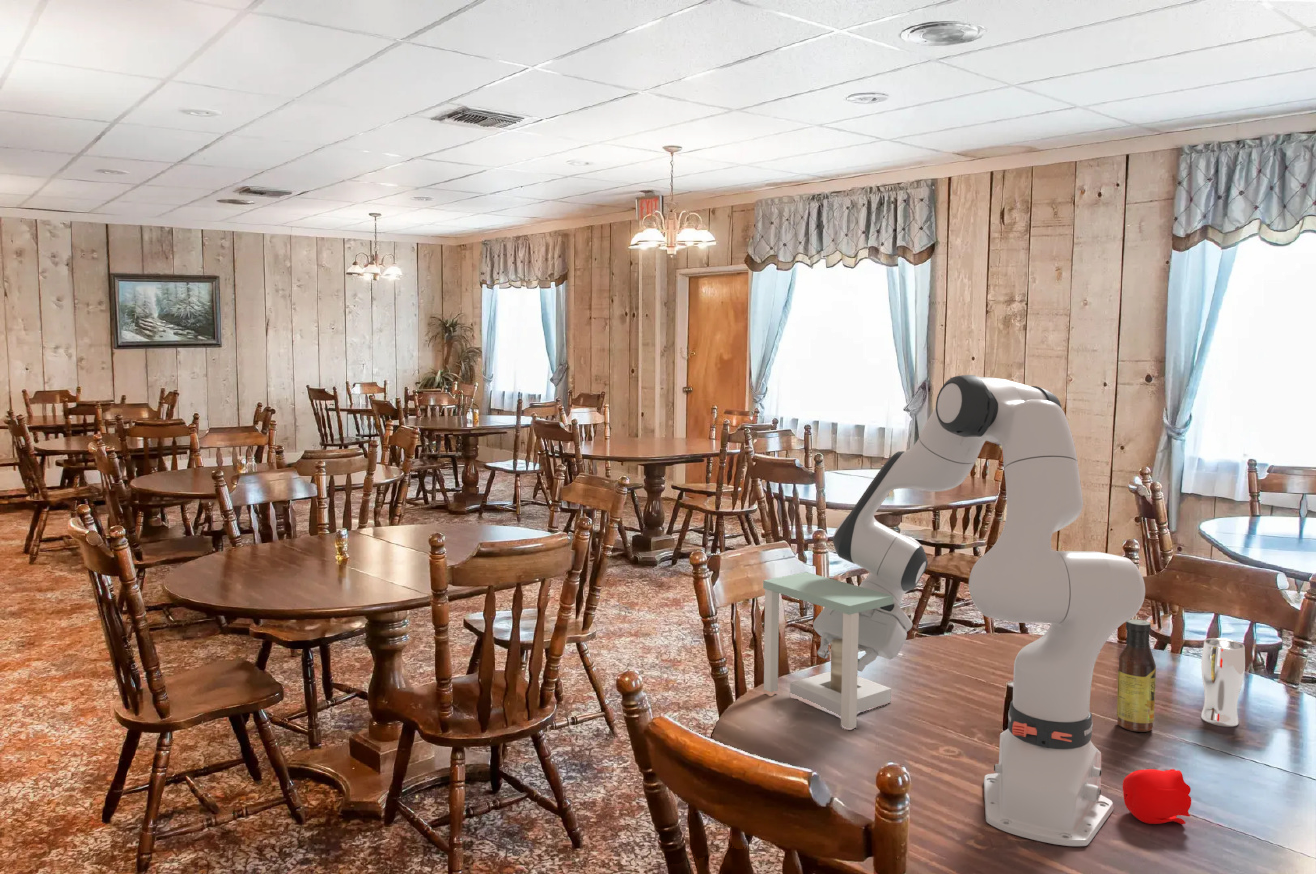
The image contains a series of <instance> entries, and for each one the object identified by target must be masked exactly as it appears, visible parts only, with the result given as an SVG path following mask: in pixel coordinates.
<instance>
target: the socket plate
mask: <svg viewBox="0 0 1316 874" xmlns="http://www.w3.org/2000/svg"><path fill="white" fill-rule="evenodd" d="M830 688H831V670H830V671H826V672H822V673H819V674H816V675H813V676H809V677H806V678H802V679H798V680H795V681H791V682H790V684H789V694H790V693H792V694H795V695H797V696H799V697H802V698H803V699H807V700H809V701H811V702H813V703H816V704H818V705H820V706H821V707H824V708H826V709H827V710H829V711H832V712H834V713H836V714H838V715H839V716H841V693H839V692H836V691H834V690H831V689H830ZM890 701H891V702H892V688H891V687H889V686H885V685H884V684H880V683H878V682H875V681H872V680H870V679H867V678H866V677H861V676H858V675H857V712H858V711H864V710H867V709H869V708H872V707H876V706H878V705H881V704H883V703H887V702H890Z"/></svg>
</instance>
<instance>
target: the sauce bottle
mask: <svg viewBox="0 0 1316 874" xmlns="http://www.w3.org/2000/svg"><path fill="white" fill-rule="evenodd" d="M1125 629H1126V640H1125V644H1126V645H1125V647H1124V648H1123V649H1122V651H1120V654H1119V657H1118V669H1117V690H1116V691H1117V692H1116V694H1117V695H1116V717H1117V724H1118V726H1120V727H1121V728H1122V729H1125V730H1128V731H1131V732H1137V733H1138V732H1140V733H1146V732H1150V731H1151V730H1152V729H1153V728H1154V723H1153V722H1154V721H1155V709H1156V708H1155V705H1156V700H1155V699H1156V684H1157V683H1156V682H1157V681H1156V679H1157V678H1156V676H1157V675H1156V673H1157V665H1156V662H1155V658H1154V656H1153V651H1152V649H1151V646H1150V632H1151V622H1150V621H1147V620H1143V619H1134V618H1133V619H1132V618H1131V619H1129V620H1128V621H1126V622H1125Z"/></svg>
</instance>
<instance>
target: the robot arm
mask: <svg viewBox="0 0 1316 874" xmlns="http://www.w3.org/2000/svg"><path fill="white" fill-rule="evenodd" d="M935 401H936V402H935V408H934V409H933V410H932V412H931V414H930V416H929V417H928V419H927V420H926V423H925V424H924V426H923V429H922V430H921V432H920V435H919V437H918V439H917V441H916V442H914V444H913V445H912V446H911V447H910V448H909V449H907V450H906V451H905V450H904V451H896V452H895V453H894V454H893V455H891V456H890V457H889V458H888V460H887V461H886V462H885V463H884V464H883V466H882V467H881V468H880V470H879V471H878V473H876V475H875V476H874V478H873V479H872V480H871V482H870V484H869V485H868V487H866V490H865V491H864V492H863V494H862V495H861V497H860V498H859V500H858V501H857V502H856V503H855V505H854V507H853V508H852V510H851V511H850V513H849V514H847V516H846V517H845V518H844V519H843V520H842V521H840V523H839V525H838V526H837V527H836V529H835V532H834V535H833V538H832V544H833V546H834V547H833V548H834V549H835V553H836V554H837V555H838V557H839V559H843V560H845V561H847V562H850V563H851V564H853V565H857V566H859V567H860V568H863V569H864V570H866V571H868V572H869V574H868V575H867V576H866V578H864V579H863V580H862V581H861V583H860V584H859V587H863V588H867V589H870V590H874V591H878V592H881V593H885V594H889V595H892V596H893V604H891V605H887V606H883V607H879V608H875V609H871V610H867V611H863V612H859V628H858V650H860V651H863V652H865V654H864V655H863V656H861V657H859V658H858V671H859V672H860V673H861V672H862V673H863V671H864V670H865V668H866V666H868V665H869V664H871V663H872V662H874V661H875V660H876V659H877V658H878V657H882V658H884V659H887V660H893V659H894V658H896V657H897V656H898V655H899V653H900V652H901V650H902V648H903V646H904V644H905V642H906V640H907V637H908V634H907V633H908V632H909V631H910V630H911V629H912V627H913V625H914V624H913V622H912V620H911V619H910V617H909V616H908V615H907V614H906V612H905V611H904V610H903V609H902V608H901V604H902V599H903V597H904V595H906V594H907V593H908V592H909V591H912V590H913V589H915V588H916V586H917V584H918V583H919V581H920V580H921V578H922V576H923V575H924V574H925V572H926V570H927V568H928V562H929V561H928V558H927V554H926V551H925V549H924V547H923V545H922V544H921V543H920V542H919V541H918V540H916V539H915V538H913V537H911V536H910V535H907V534H906V535H904V534H902V533H899V532H897V531H896V530H894V529H892V528H891V527H889V526H886V525H885V524H882V523H881V522H879V521H878V520H877V519H876V518H875V514H876V513H877V511H878V509H879V508H880V507H881V505H882V504H883V503H884V502H885V500H886V498H887V497H888V496H889V494H890V493H891V492H892V491H894V490H898V489H900V490H901V489H906V490H907V489H908V490H909V489H910V490H917V491H923V492H945V491H950V490H953V489H955V488H957V487H958V486H960V485H961V484H963V483H964V482H965V481H966V479H967V477H968V476H969V474H970V473H971V471H972V469H973V467H974V466H975V463H976V462H977V459H978V457H979V455H980V453H981V451H982V448H983V446H984V444H985V443H986V442H989V443H992V444H997V445H998V444H999V445H1000V446H1001V448H1002V461H1003V470H1004V471H1003V472H1004V480H1005V494H1006V496H1005V497H1006V516H1005V521H1004V522H1005V523H1004V525H1003V528H1002V532H1001V533H1000V536H999V537H998V539H997V540H996V542H995V543H994V545H992V546H991V548H990V549H989V550H988V551H986V553H985V554H983V555H982V556H980V557H979V558H978V559H977V561H976V562H974V565H973V566H972V569H971V571H970V574H969V578H968V591H969V594H970V595H969V596H970V598H971V600H972V602H973V604H974V605H975V607H976V609H977V610H978V611H979V612H980V614H982V615H983V616H984V617H986V618H989V619H990V618H992V619H996V620H999V621H1005V622H1010V623H1014V624H1015V623H1019V624H1020V623H1021V624H1022V623H1023V624H1027V623H1029V624H1037V623H1039V624H1042V623H1043V624H1050V625H1049V626H1048V629H1047V631H1046V632H1045V633H1044V634H1043V635H1042V636H1040V637H1039V638H1038V639H1036V640H1034V641H1033V642H1032V641H1031V642H1030V643H1028V644H1026V645H1025V646H1023V647H1022V648H1021V649H1020V650H1019V652H1018V653H1017V655H1016V657H1015V660H1014V662H1013V683H1012V684H1013V686H1012V700H1010V703H1009V708H1008V709H1009V710H1008V713H1007V714H1008V715H1007V716H1008V717H1007V718H1008V724H1007V729H1005V730H1004V731H1002V732H1001V733H1000V734H999V748H998V749H999V750H998V751H999V753H998V763H995V764H994V765H993V771H994V773H987V774H985V775H984V777H983V778H984V779H983V794H984V809H985V810H984V811H985V812H984V813H985V814H984V815H985V821H986V823H987V824H989V825H991V827H994V828H996V829H998V830H1000V831H1002V832H1006V833H1008V834H1012V835H1015V836H1017V837H1021V838H1026V839H1030V840H1034V841H1037V842H1042V843H1048V844H1053V845H1060V846H1067V847H1086V846H1088V845H1089V844H1090V843H1091V842H1092V840H1093V839H1094V837H1095V836H1096V834H1098V832H1099V831H1100V829H1101V827H1102V826H1103V825H1104V823H1105V822H1106V820H1108V818H1109V816H1110V815H1111V814H1112V813H1113V811H1114V802H1113V801H1112V800H1111V799H1110V798H1107V796H1105V795H1103V794H1102V791H1101V789H1102V788H1101V787H1102V786H1101V785H1102V784H1101V783H1102V753H1101V751H1100V750H1099V749H1098V748H1097V747H1096V746H1095V745H1094V743H1093V742H1092V741H1091V739H1092V736H1093V735H1092V734H1093V733H1092V732H1093V728H1094V726H1093V724H1094V723H1093V714H1092V712H1091V711H1090V705H1091V704H1090V703H1091V691H1092V681H1093V675H1094V669H1095V665H1096V662H1097V659H1098V657H1099V655H1100V652H1101V651H1102V649H1103V647H1104V645H1105V644H1106V643H1107V641H1108V640H1109V638H1110V637H1111V636H1112V634H1114V633H1115V631H1116V630H1117V629H1119V627H1121V626H1122V625H1123V624H1124V623H1125V624H1126V621H1128V620H1131V619H1132V618H1134V617H1135V616H1136V615H1137V614H1138V613H1139V611H1140V610H1141V608H1142V606H1143V604H1144V600H1145V598H1146V585H1145V581H1144V577H1143V575H1142V572H1141V571H1140V569H1139V568H1138V566H1137V565H1136V564H1135V563H1134V562H1133V560H1131V559H1130V558H1128V557H1126V556H1122V555H1116V554H1112V553H1107V552H1102V551H1085V550H1084V551H1080V550H1079V551H1074V550H1073V551H1065V550H1063V551H1062V550H1061V551H1060V550H1053V548H1052V537H1053V534H1054V533H1056V532H1058V531H1061V530H1062V529H1064V528H1067V526H1069V525H1071V524H1072V523H1074V522H1075V521H1076V520H1077V519H1078V518H1079V517H1080V515H1081V514H1082V512H1083V507H1084V499H1083V491H1082V484H1081V476H1080V467H1079V463H1078V455H1077V450H1076V446H1075V440H1074V438H1073V434H1072V431H1071V427H1070V424H1069V421H1068V419H1067V416H1066V413H1065V411H1064V410H1063V407H1062V403H1061V402H1060V400H1059V398H1058V396H1056V395H1055V394H1054V393H1052V392H1050V390H1047V389H1045V388H1042V387H1040V386H1037V385H1032V386H1031V385H1029V384H1028V385H1027V384H1024V383H1020V382H1018V381H1017V382H1016V381H1012V380H1010V379H1006V378H999V377H989V376H988V377H986V376H977V375H975V374H963V375H956V376H952V377H950V378H949V379H948V380H946V381H945V382H944V384H943V385H942V386H941V388H940V390H939V392H938V394H937V397H936V400H935ZM812 625H813V630H814V631H815V632H816V633H817V635H819V636H820V646H819V648H818V650H817V655H818V656H819V657H820V658H823V659H828V657H829V656H830V655H831V650H829V645H831V641H832V640H834V639H843V613H842V612H839V611H836V610H832V609H829V608H826V607H824V608H823V609H822V610H821V612H820V613H819V614H818V615H817V617H815V620H814V621H813V623H812Z"/></svg>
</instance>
